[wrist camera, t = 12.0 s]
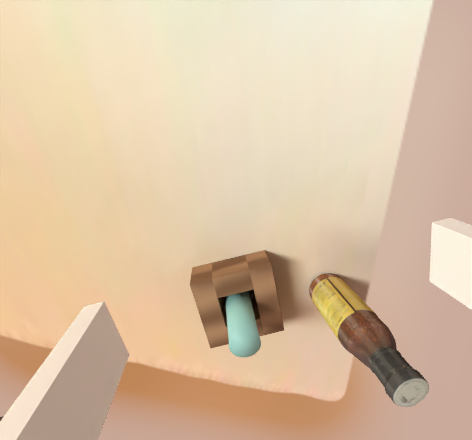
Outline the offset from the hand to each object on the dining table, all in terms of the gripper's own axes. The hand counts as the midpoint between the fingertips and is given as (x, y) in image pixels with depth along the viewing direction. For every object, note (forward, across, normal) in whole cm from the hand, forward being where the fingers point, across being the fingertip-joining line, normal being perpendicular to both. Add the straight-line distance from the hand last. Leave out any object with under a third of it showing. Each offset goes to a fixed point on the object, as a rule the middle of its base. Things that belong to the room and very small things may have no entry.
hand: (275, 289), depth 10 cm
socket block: (+29, -3, -19) cm, 35 cm away
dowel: (+29, -3, -19) cm, 35 cm away
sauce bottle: (+29, +12, -23) cm, 39 cm away
